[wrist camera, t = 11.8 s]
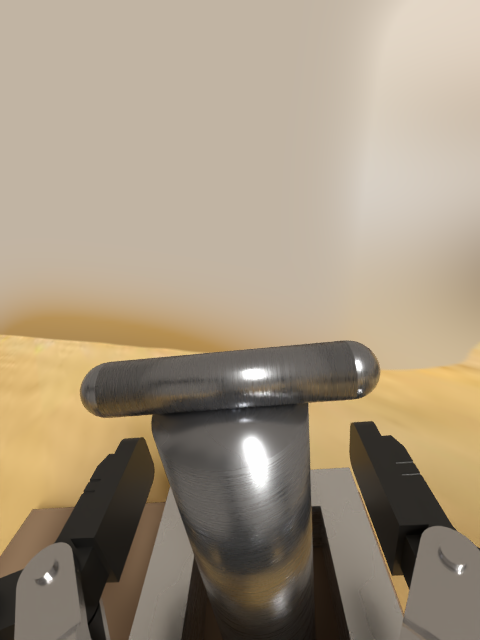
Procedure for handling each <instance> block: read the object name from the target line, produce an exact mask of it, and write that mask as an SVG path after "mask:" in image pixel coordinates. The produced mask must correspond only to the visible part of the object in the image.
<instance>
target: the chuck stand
mask: <svg viewBox="0 0 480 640" xmlns="http://www.w3.org/2000/svg"><path fill="white" fill-rule="evenodd" d="M310 477H311V509H312V540H313V572H314V603H315V635H316V640H399V636H400V632H401V627H402V622H403V618H404V613H403V610H402V608H401V605H400V602H399V599H398V597H397V594H396V591H395V589H394V586H393V583H392V580H391V578H390V575H389V572H388V569H387V567H386V564H385V561H384V558H383V556H382V553H381V550H380V547H379V545H378V542H377V539H376V536H375V534H374V531H373V528H372V525H371V523H370V520H369V517H368V515H367V512H366V509H365V506H364V504H363V501H362V498H361V495H360V493H359V492H358V490H357V488H356V485H355V482H354V479H353V477H352V474H351V471H350V468H334V469H317V470H310ZM73 509H74V507H68V508H50V509H33V510H32V511H31V513H30V514H29V515H28V517H27V518H26V520H25V521H24V523H23V524H22V526H21V527H20V529H19V530H18V531H17V533H16V534H15V536H14V537H13V539H12V540H11V542H10V543H9V545H8V546H7V547H6V549H5V550H4V552H3V553H2V555H1V556H0V578H2V577H4V576H7V575H9V574H12V573H14V572H17V571H19V570H22V569H24V568H25V566H26V565H27V564H28V563H29V561H30V560H31V559H32V558H33V557H34V556H35V555H36V554H37V553H39V552H40V551H41V550H43V549H44V548H46V547H48V546H49V545H52V544H54V543H55V541H56V539H57V538H58V536H59V534H60V533H61V531H62V529H63V527H64V525H65V524H66V522H67V520H68V518H69V516H70V515H71V513H72V511H73ZM101 597H102V600H103V604H104V609H105V615H106V620H107V625H108V630H109V635H110V640H223V638H222V635H221V632H220V629H219V626H218V624H217V621H216V618H215V615H214V612H213V609H212V606H211V603H210V600H209V597H208V594H207V591H206V589H205V586H204V583H203V580H202V577H201V574H200V571H199V568H198V565H197V562H196V559H195V556H194V554H193V551H192V548H191V545H190V542H189V539H188V536H187V533H186V530H185V527H184V524H183V522H182V519H181V516H180V513H179V510H178V507H177V504H176V501H175V498H174V495H173V492H172V489H171V487H170V489H169V493H168V496H167V500H166V502H160V503H145V506H144V509H143V512H142V515H141V518H140V521H139V524H138V527H137V530H136V533H135V536H134V539H133V542H132V545H131V548H130V551H129V554H128V557H127V560H126V563H125V566H124V569H123V572H122V575H121V578H120V581H119V582H114V583H106V584H105V587H104V590H103V592H102V595H101Z"/></svg>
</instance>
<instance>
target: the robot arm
mask: <svg viewBox="0 0 480 640" xmlns="http://www.w3.org/2000/svg"><path fill="white" fill-rule="evenodd" d="M350 460H351V465H352V468H353V471H354V474H355V477H356V480H357V482H358V485H359V488H360V490H361V493H362V496H363V498H364V501H365V504H366V507H367V509H368V512H369V515H370V517H371V520H372V523H373V525H374V528H375V531H376V533H377V536H378V539H379V542H380V544H381V547H382V550H383V552H384V555H385V558H386V560H387V563H388V566H389V568H390V571H391V574H392V576H393V575H404V577H405V580H406V582H407V585H408V587H409V595H408V600H407V604H406V609H405V614H404V618H403V622H402V627H401V632H400V636H399V640H480V548H478V547H476V546H475V545H474V544H473V543H472V542H471V541H470V540H469V539H468V538H467V537H465V536H464V535H462V534H461V533H459V532H457V530H456V529H455V528H454V527H453V526H452V524H451V523H450V521H449V520H448V518H447V516H446V515H445V513H444V511H443V510H442V508H441V506H440V505H439V503H438V501H437V500H436V498H435V497H434V495H433V493H432V492H431V490H430V488H429V487H428V485H427V483H426V482H425V480H424V478H423V477H422V475H420V472H419V470H418V469H417V467H416V465H415V464H414V463H413V460H412V459H411V457H410V455H409V454H408V452H407V450H406V449H405V447H404V446H403V445H402V444H400V443H399V442H398V441H397V440H396V439H395V438H394V437H392V436H391V435H389V436H381V434H380V433H379V431H378V429H377V427H376V425H375V424H374V422H372V421H368V422H354V423H351V425H350ZM153 479H154V464H153V461H152V458H151V455H150V452H149V449H148V446H147V444H146V441H145V439H144V438H143V437H141V438H128V439H123V440H122V441H121V442H120V444H119V446H118V448H117V450H116V452H115V454H109V455H108V456H107V457H106V458H105V459H104V460H103V461H102V462H101V463H100V464H99V465H98V466H97V468H96V470H95V472H94V473H93V475H92V477H91V479H90V482H88V484H87V486H86V488H85V490H84V493H83V494H82V495H81V497H80V499H79V500H78V502H77V504H76V506H75V507H74V509H73V511H72V513H71V515H70V516H69V518H68V520H67V522H66V524H65V525H64V527H63V529H62V531H61V533H60V534H59V536H58V538H57V539H56V541H55V543H54V544H52V545H49V546H48V547H46V548H44V549H43V550H41V551H40V552H39V553H37V554H36V555H35V556H34V557H33V558H32V559H31V560H30V561H29V563H28V564H27V565H26V566H25V568H24V569H22V570H19V571H17V572H14V573H12V574H9V575H7V576H4V577H2V578H0V640H110V635H109V630H108V625H107V620H106V615H105V609H104V604H103V600H102V597H101V595H102V592H103V590H104V587H105V584H106V583H114V582H119V581H120V578H121V575H122V572H123V569H124V566H125V563H126V560H127V557H128V554H129V551H130V548H131V545H132V542H133V539H134V536H135V533H136V530H137V527H138V524H139V521H140V518H141V515H142V512H143V509H144V506H145V503H146V501H147V498H148V495H149V492H150V489H151V486H152V483H153Z"/></svg>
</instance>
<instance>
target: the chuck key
mask: <svg viewBox="0 0 480 640" xmlns="http://www.w3.org/2000/svg"><path fill="white" fill-rule="evenodd" d="M379 377H380V366H379V362H378V360H377V358H376V356H375V355H374V353H373V352H372V351H371V350H370V349H369V348H367V347H366V346H364V345H363V344H361V343H358V342H355V341H334V342H323V343H313V344H302V345H291V346H280V347H269V348H258V349H247V350H237V351H225V352H214V353H203V354H193V355H182V356H171V357H160V358H149V359H138V360H127V361H116V362H108V363H103V364H100V365H98V366H96V367H95V368H93V369H92V370H91V371H90V372H89V373H88V374H87V375H86V376H85V378H84V379H83V382H82V384H81V388H80V397H81V401H82V403H83V405H84V407H85V408H86V409H87V410H88V411H89V412H90V413H92V414H94V415H95V416H99V417H103V418H112V417H126V416H139V415H152V414H153V415H152V421H151V423H152V433H153V437H154V440H155V443H156V446H157V449H158V452H159V454H160V457H161V460H162V463H163V466H164V469H165V472H166V475H167V478H168V481H169V484H170V487H171V489H172V492H173V495H174V498H175V501H176V504H177V507H178V510H179V513H180V516H181V519H182V522H183V524H184V527H185V530H186V533H187V536H188V539H189V542H190V545H191V548H192V551H193V554H194V556H195V559H196V562H197V565H198V568H199V571H200V574H201V577H202V580H203V583H204V586H205V589H206V591H207V594H208V597H209V600H210V603H211V606H212V609H213V612H214V615H215V618H216V621H217V624H218V626H219V629H220V632H221V635H222V638H223V640H316V635H315V603H314V572H313V540H312V509H311V477H310V446H309V414H308V403H312V402H325V401H338V400H352V399H359V398H362V397H364V396H366V395H367V394H369V393H370V392H372V390H373V389H374V388H375V387H376V385H377V383H378V381H379Z"/></svg>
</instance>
